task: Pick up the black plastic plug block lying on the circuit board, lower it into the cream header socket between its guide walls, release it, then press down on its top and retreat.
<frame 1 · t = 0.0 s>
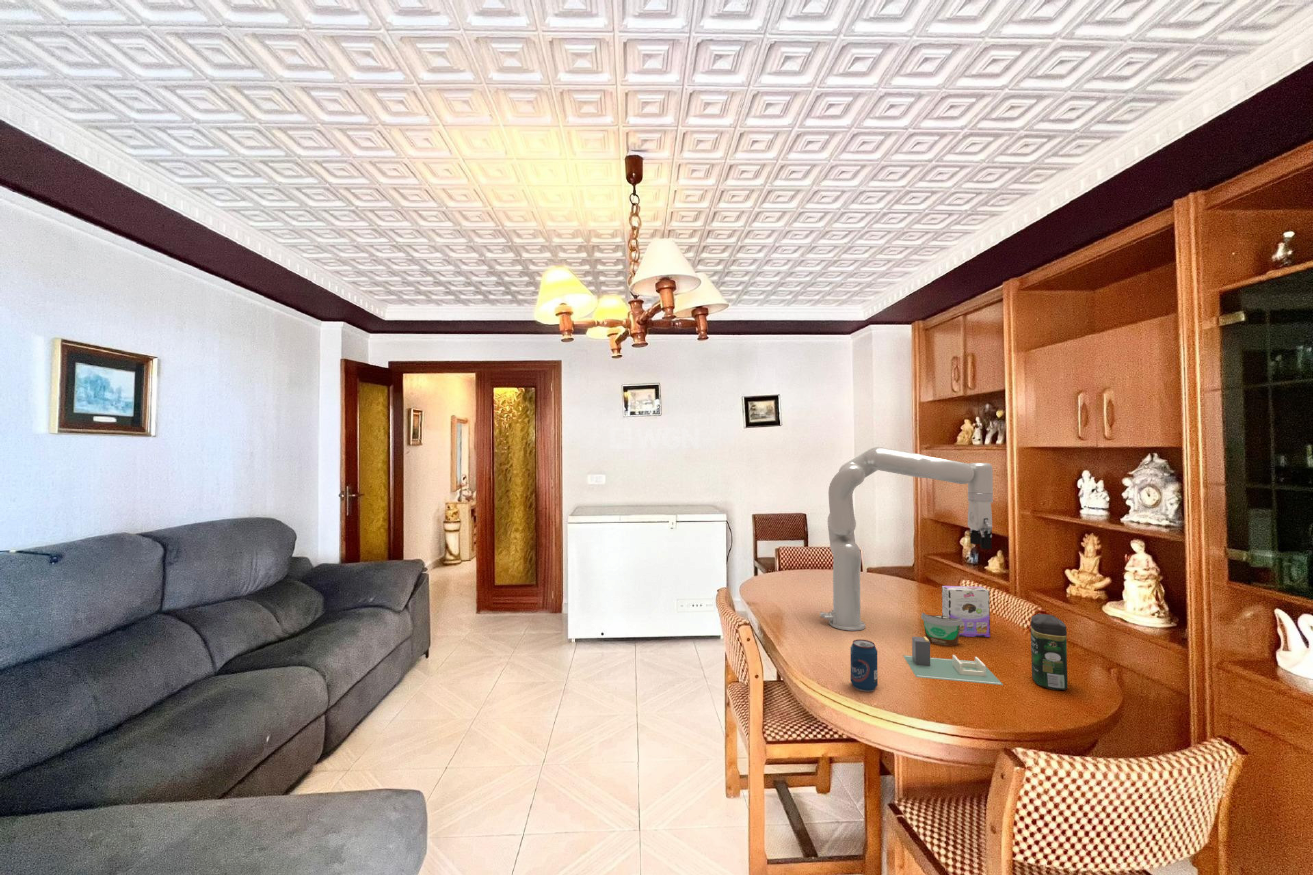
hand: (980, 546, 186), 31 cm above the table, tool pointing down, fingers open, 9 cm apart
board: (949, 673, 154), on the table
candy box: (965, 634, 187), on the table
plug: (921, 662, 159), point 1 cm above the table, touching board
header socket: (968, 674, 153), resting on board
food container: (941, 647, 175), on the table
soda can: (863, 687, 145), on the table
coffee jar: (1049, 684, 148), on the table
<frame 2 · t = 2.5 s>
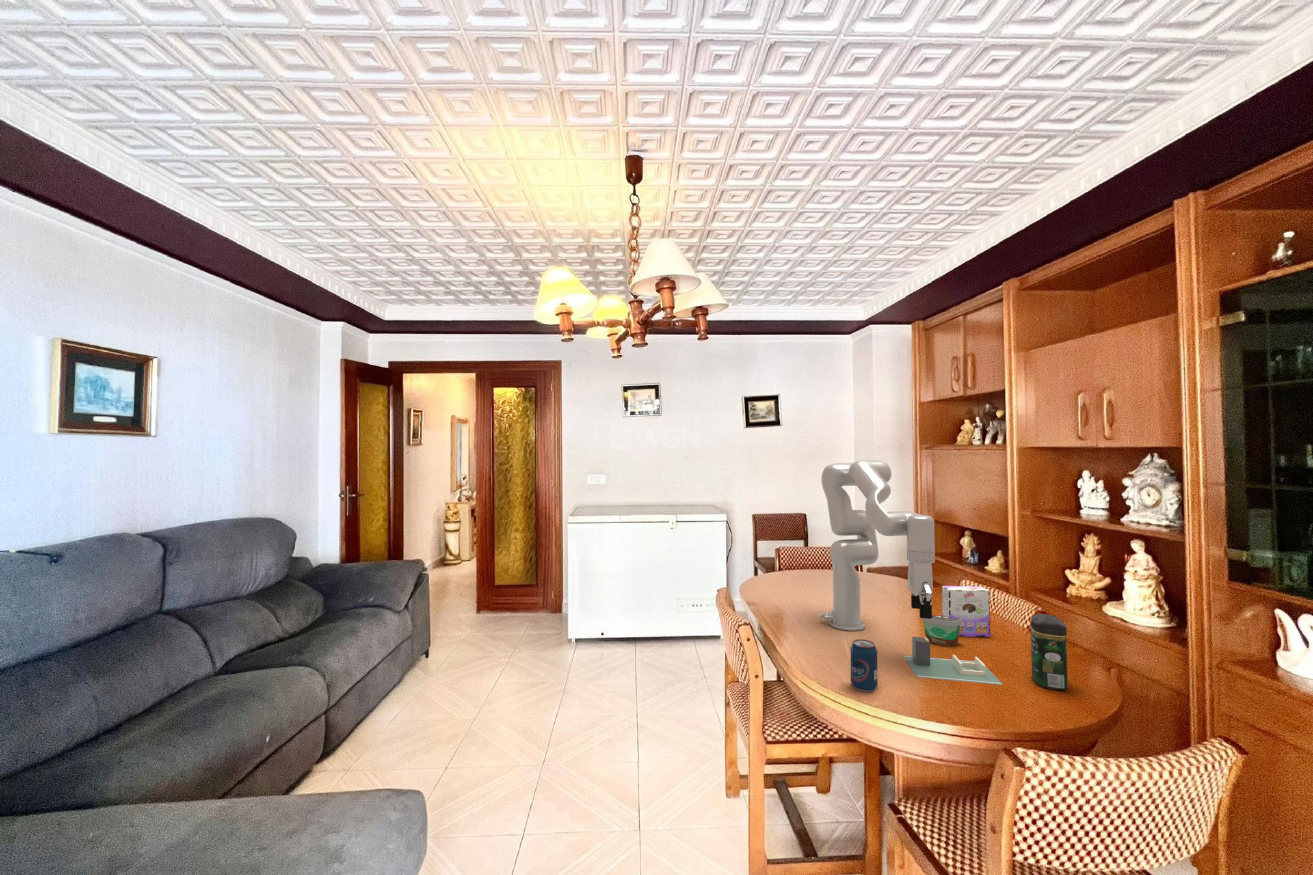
hand: (921, 613, 159), 16 cm above the table, tool pointing down, fingers open, 9 cm apart
nothing on the table moved.
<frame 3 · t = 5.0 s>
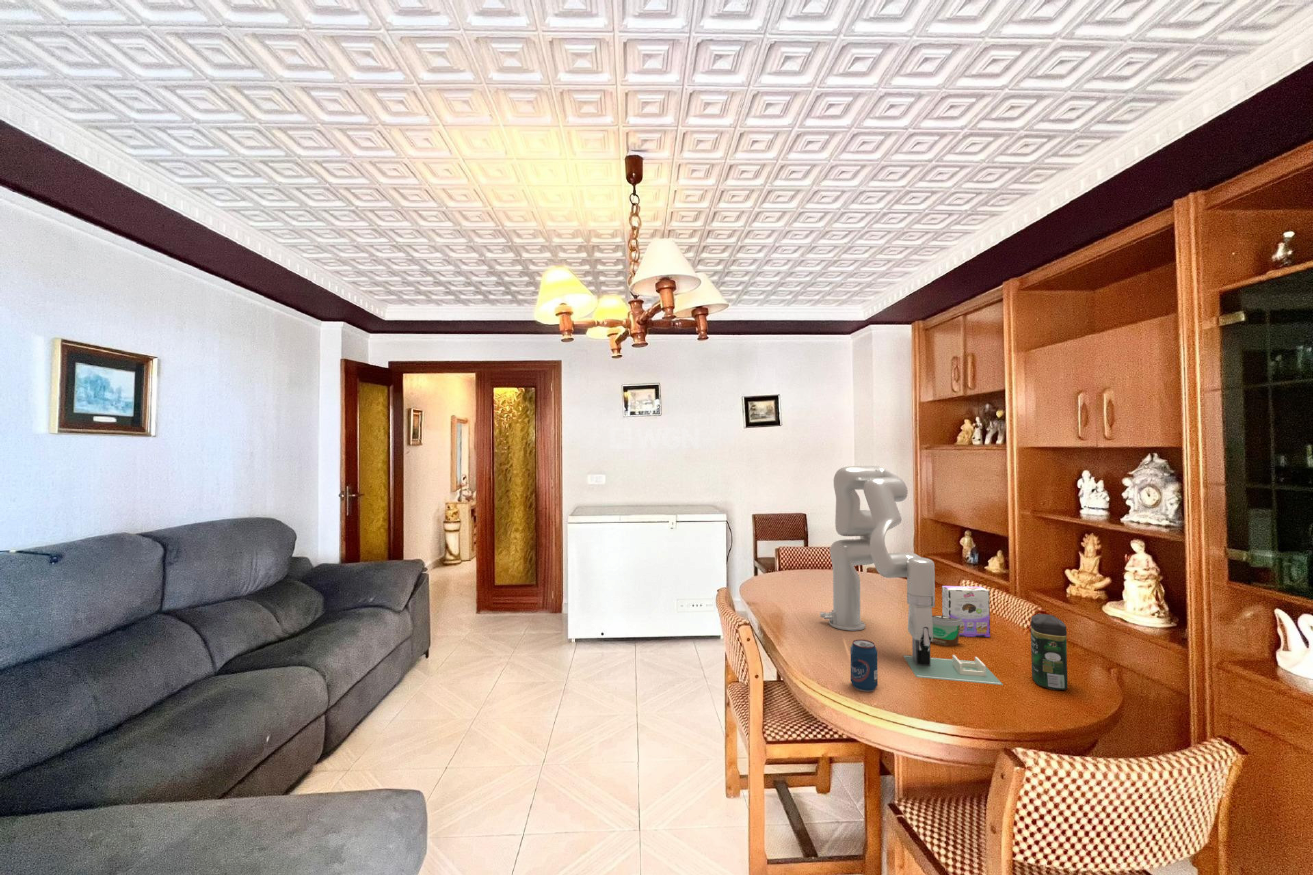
hand: (921, 660, 159), 2 cm above the table, tool pointing down, fingers closed on plug, 3 cm apart
plug: (921, 662, 159), point 1 cm above the table, touching gripper
everything else where it was.
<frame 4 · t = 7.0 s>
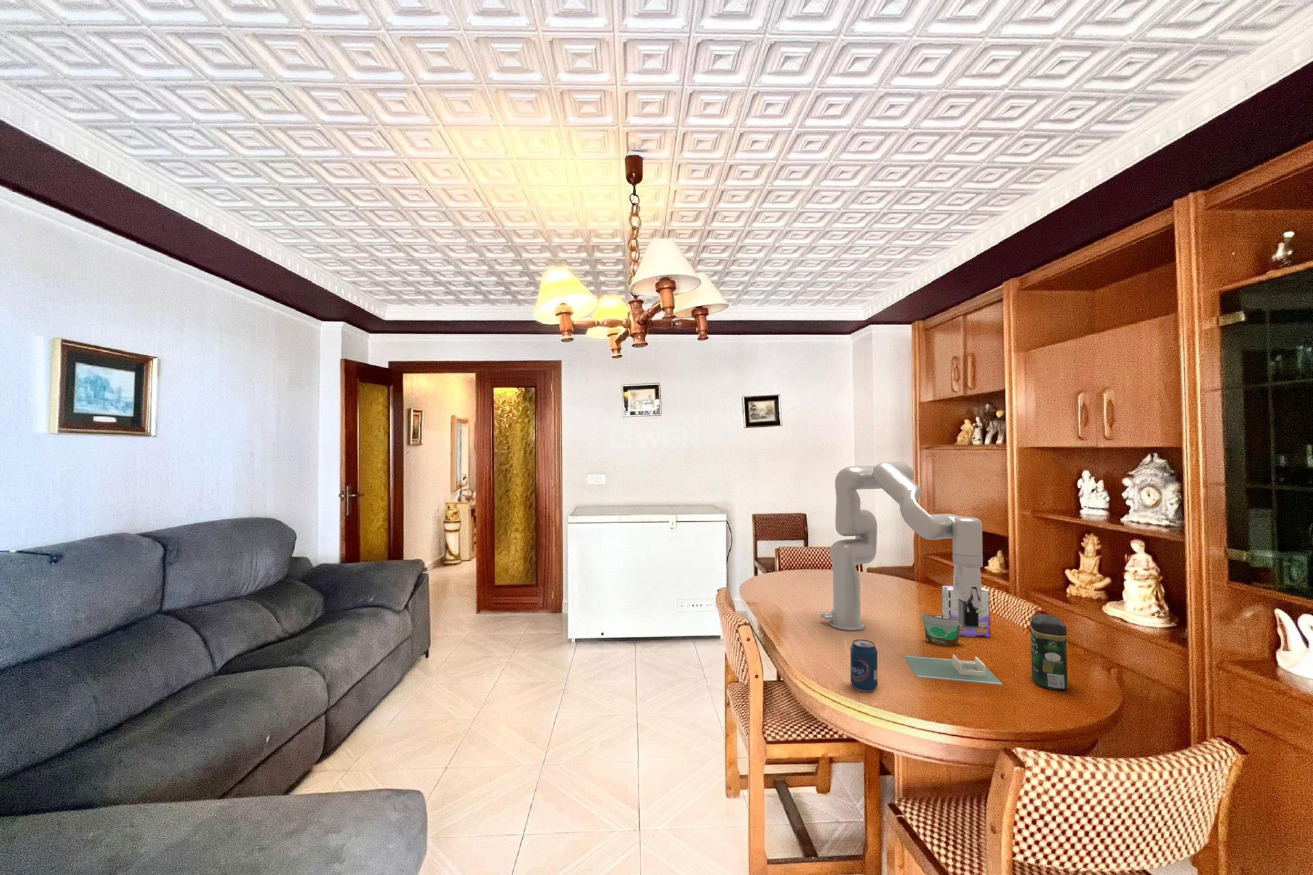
hand: (968, 622, 153), 15 cm above the table, tool pointing down, fingers closed on plug, 4 cm apart
plug: (968, 625, 153), point 14 cm above the table, touching gripper
everything else where it was.
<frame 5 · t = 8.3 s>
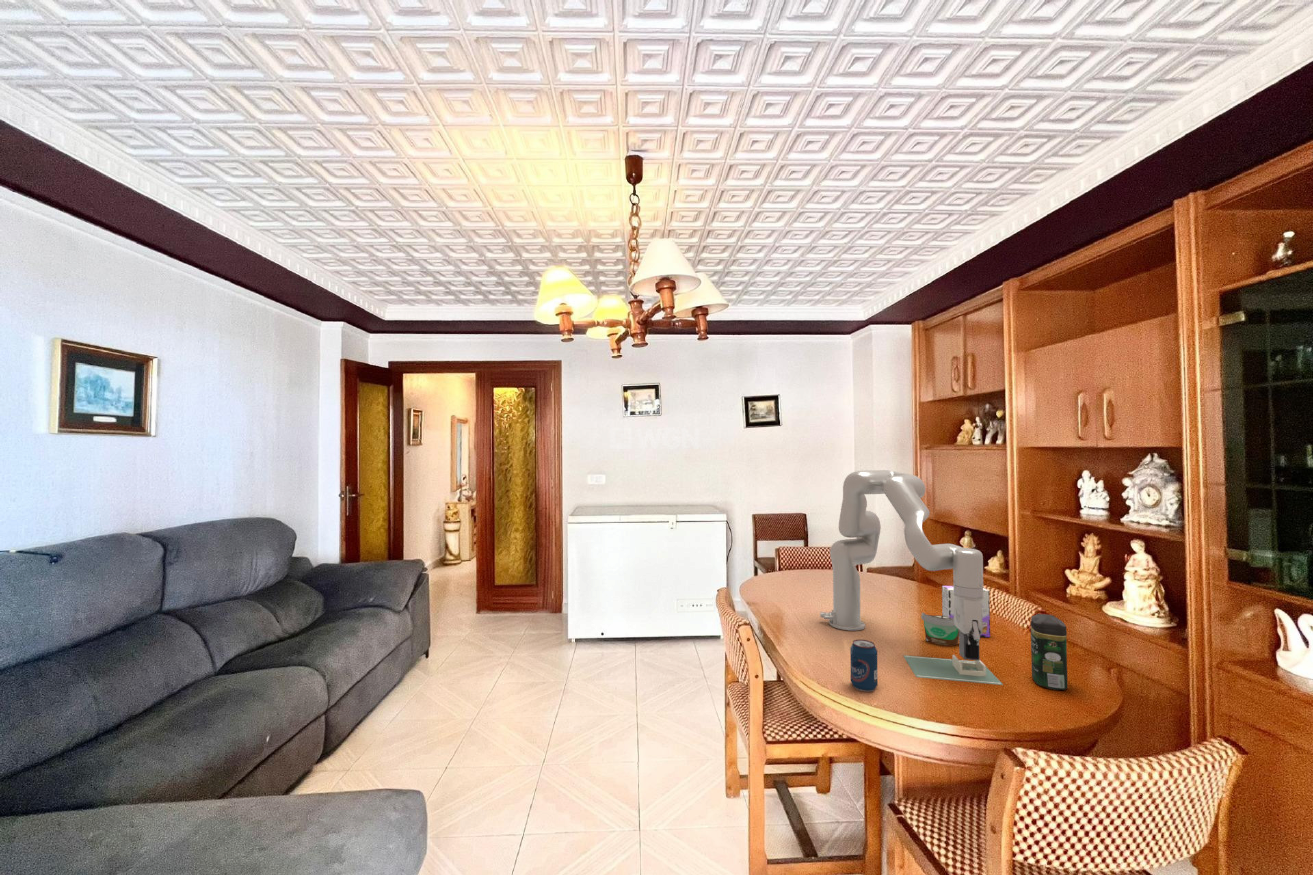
hand: (969, 654, 153), 6 cm above the table, tool pointing down, fingers closed on plug, 4 cm apart
plug: (969, 657, 153), point 5 cm above the table, touching gripper
everything else where it was.
when the fingers open (3 cm above the table, at t = 9.4 s): plug drops 1 cm, resting on header socket.
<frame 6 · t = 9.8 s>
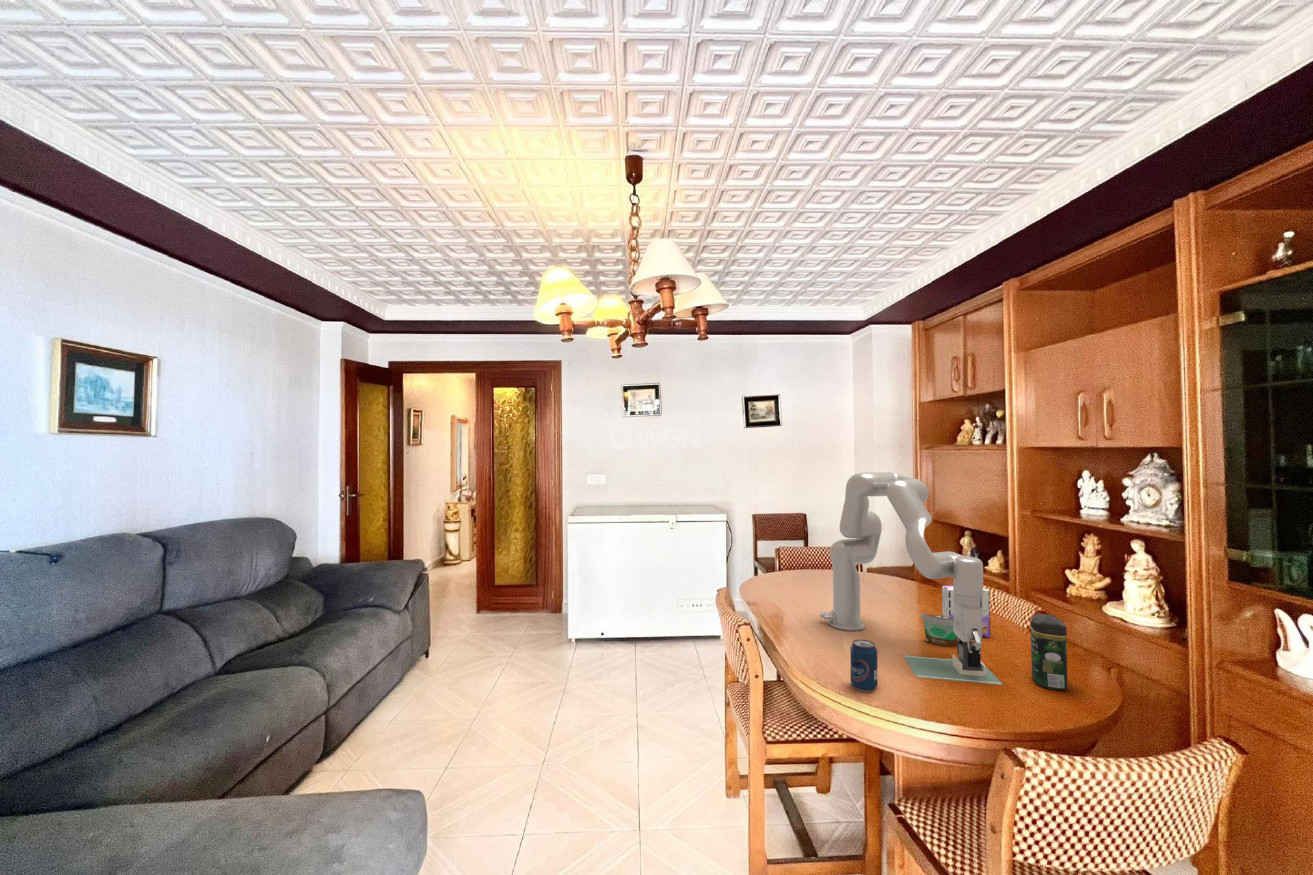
hand: (968, 660, 153), 4 cm above the table, tool pointing down, fingers open, 7 cm apart
plug: (968, 670, 153), point 1 cm above the table, touching header socket
everything else where it was.
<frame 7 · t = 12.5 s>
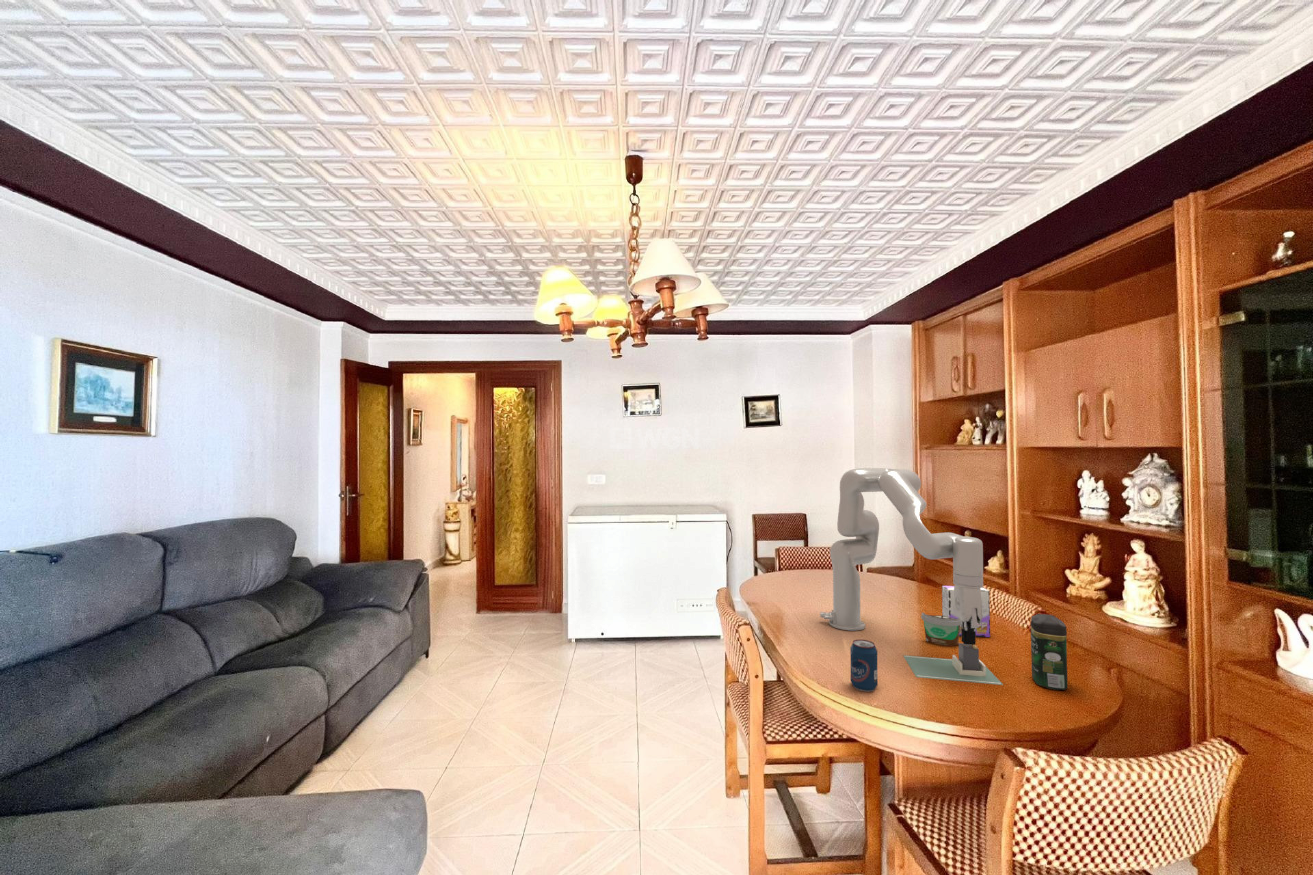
hand: (968, 643, 153), 9 cm above the table, tool pointing down, fingers closed
nothing on the table moved.
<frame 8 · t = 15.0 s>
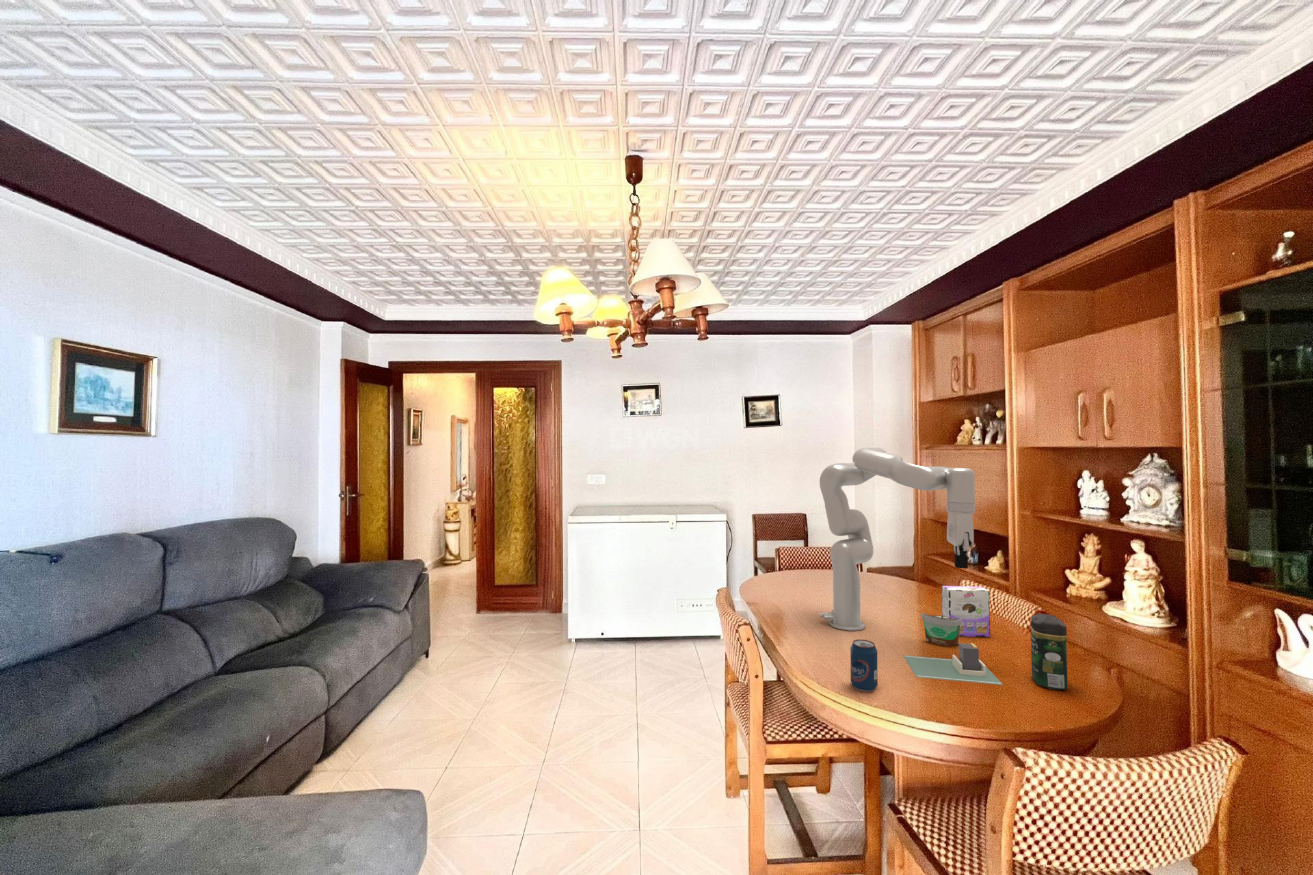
hand: (961, 567, 162), 29 cm above the table, tool pointing down, fingers closed
nothing on the table moved.
at the end: plug 0.1 cm off-centre on the header socket, point 1.3 cm above the header socket's base; plug tilted 0°; the gripper is holding nothing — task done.
